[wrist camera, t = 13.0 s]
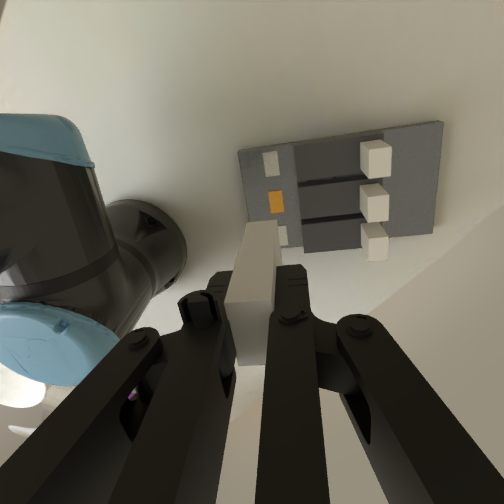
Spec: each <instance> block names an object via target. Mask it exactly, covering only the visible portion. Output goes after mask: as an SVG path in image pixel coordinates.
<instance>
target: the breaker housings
mask: <svg viewBox="0 0 504 504" xmlns="http://www.w3.org/2000/svg"><path fill="white" fill-rule="evenodd" d="M294 153H295V163H296V173H297V181H305V180H312V179H320V178H328V177H336V176H343V175H351V174H359V173H364V174H365V175H358V176H350V177H342V178H335V179H327V180H319V181H311V182H304V183H297V184H298V194H299V204H300V214H301V225H302V235H303V245H304V253H313V252H324V251H334V250H345V249H355V248H363V250H364V253H365V255H366V257H367V259H368V262H369V261H380V260H388V243H389V237H388V235H387V233H386V232H385V230H384V229H383V227H382V221H381V222H371V223H368V222H367V221H366V219H365V217H364V215H363V213H362V212H361V210H360V185H367V184H375V183H379V184H380V185H381V186H382V187H383V177H388V176H391V156H392V146H390V145H389V144H387V143H385V142H384V133H383V132H381V131H373V132H366V133H359V134H353V135H346V136H339V137H332V138H326V139H319V140H312V141H305V142H299V143H294Z"/></svg>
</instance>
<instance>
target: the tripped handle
mask: <svg viewBox="0 0 504 504" xmlns="http://www.w3.org/2000/svg"><path fill="white" fill-rule="evenodd" d="M360 210H361V212H362V213H363V215H364V217H365V219H366V221H367V222H368V223H371V222H381V221H388V220H389V194H388V193H387V192H386V190H385V189H384V188H383V187H382V186H381V185H380V184H379V183H375V184H367V185H360Z"/></svg>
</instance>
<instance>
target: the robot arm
mask: <svg viewBox="0 0 504 504" xmlns="http://www.w3.org/2000/svg"><path fill="white" fill-rule="evenodd" d="M94 168H95V165H94V163H93V162H92V161H91V159H90V157H89V154H88V152H87V149H86V147H85V144H84V141H83V138H82V136H81V133H80V131H79V129H78V128H77V127H76V125H75V124H74V123H73V122H71V121H70V120H68V119H67V118H65V117H62V116H59V115H48V114H9V113H0V363H1V364H3V365H4V366H5V367H7V368H8V369H10V370H12V371H14V372H15V373H17V374H19V375H22V376H24V377H27V378H29V379H32V380H34V381H37V382H41V383H45V384H50V385H57V386H76V385H77V386H76V388H75V389H74V390H73V391H72V392H71V393H70V394H69V395H68V396H67V397H66V398H65V399H64V400H63V401H62V402H61V403H60V404H59V406H58V407H57V408H56V409H55V410H54V411H53V412H52V413H51V414H50V415H49V416H48V417H47V418H46V419H45V420H44V421H43V423H42V424H41V425H40V426H39V427H38V428H37V429H36V430H35V431H34V432H33V433H32V434H31V435H30V436H29V437H28V438H27V439H26V441H25V442H24V443H23V444H22V445H21V446H20V447H19V448H18V449H17V450H16V451H15V452H14V453H13V454H12V456H11V457H10V458H9V459H8V460H7V461H6V462H5V463H4V464H3V465H2V466H1V467H0V504H215V503H216V497H217V491H218V485H219V479H220V473H221V467H222V461H223V455H224V449H225V443H226V437H227V431H228V425H229V419H230V413H231V407H232V401H233V395H234V389H235V383H236V371H235V367H234V364H235V358H237V362H238V366H249V365H266V366H265V379H264V392H263V404H262V418H261V430H260V443H259V455H258V468H257V480H256V493H255V504H330V498H329V487H328V477H327V467H326V457H325V447H324V437H323V427H322V417H321V407H320V397H319V388H323V389H327V390H331V391H334V392H338V393H339V395H340V398H341V400H342V402H343V405H344V407H345V409H346V411H347V413H348V416H349V418H350V420H351V422H352V424H353V426H354V428H355V431H356V433H357V435H358V437H359V440H360V442H361V444H362V446H363V448H364V450H365V452H366V455H367V457H368V459H369V461H370V464H371V466H372V468H373V470H374V472H375V474H376V477H377V479H378V481H379V483H380V485H381V488H382V489H383V492H384V494H385V496H386V498H387V501H388V503H389V504H504V478H503V477H502V476H501V474H500V473H499V472H498V471H497V469H496V468H495V467H494V466H493V464H492V463H491V462H490V461H489V459H488V458H487V457H486V455H485V454H484V453H483V452H482V450H481V449H480V448H479V447H478V445H477V444H476V443H475V442H474V440H473V439H472V438H471V436H470V435H469V434H468V433H467V431H466V430H465V429H464V428H463V427H462V425H461V424H460V423H459V421H458V420H457V419H456V417H455V416H454V415H453V414H452V412H451V411H450V410H449V408H448V407H447V406H446V405H445V404H444V402H443V401H442V400H441V398H440V397H439V396H438V395H437V393H436V392H435V391H434V389H433V388H432V387H431V386H430V384H429V383H428V382H427V381H426V379H425V378H424V377H423V375H422V374H421V373H420V372H419V370H418V369H417V368H416V367H415V365H414V364H413V363H412V362H411V360H410V359H409V358H408V357H407V355H406V354H405V353H404V351H403V350H402V349H401V348H400V346H399V345H398V344H397V343H396V341H395V340H394V339H393V337H392V336H391V335H390V334H389V332H388V331H387V330H386V329H385V327H384V326H383V325H382V324H381V323H380V322H379V321H378V320H377V319H375V318H373V317H371V316H368V315H363V314H351V315H348V316H345V317H343V318H341V319H340V320H339V321H338V322H337V324H334V323H329V322H325V321H323V320H320V319H318V318H317V317H316V316H314V314H313V313H312V312H311V308H310V299H309V290H308V280H307V270H306V269H305V268H304V267H303V266H302V265H301V264H296V265H284V266H283V264H282V256H281V248H280V240H279V232H278V224H277V219H276V220H267V221H257V222H248V223H246V227H245V230H244V234H243V237H242V241H241V244H240V248H239V251H238V255H237V258H236V262H235V266H234V269H233V271H221V272H217V273H216V274H215V275H213V276H212V277H211V278H210V280H209V283H208V285H207V288H206V290H199V291H194V292H191V293H189V294H187V295H185V296H184V297H182V298H181V299H180V300H179V302H178V303H177V304H178V307H179V310H180V314H181V317H182V320H183V323H184V324H183V326H182V328H181V330H179V331H176V332H173V333H169V334H166V335H162V336H160V335H159V333H158V331H157V330H156V329H154V328H151V327H143V328H139V329H136V330H134V331H132V330H133V328H134V327H135V325H136V323H137V322H138V320H139V318H140V317H141V315H142V313H143V312H144V310H145V308H146V307H147V305H148V303H149V302H150V300H151V299H152V298H153V297H155V296H156V295H158V294H160V293H161V292H163V291H164V290H166V289H167V288H169V287H170V286H171V285H172V284H173V283H174V282H175V281H176V280H177V279H178V277H179V275H180V274H181V272H182V270H183V268H184V266H185V263H186V258H187V248H186V243H185V240H184V237H183V235H182V233H181V231H180V229H179V227H178V226H177V225H176V223H175V222H174V221H173V220H172V219H171V218H170V217H169V216H168V215H167V214H166V213H164V212H163V211H162V210H160V209H158V208H157V207H155V206H153V205H151V204H148V203H145V202H142V201H137V200H120V201H116V202H113V203H111V204H108V205H107V206H105V204H104V201H103V198H102V194H101V191H100V188H99V184H98V181H97V177H96V174H95V171H94ZM134 389H135V391H136V393H135V394H134V396H133V397H131V398H130V399H129V398H128V397H129V395H130V394H131V393H132V391H133V390H134Z"/></svg>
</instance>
